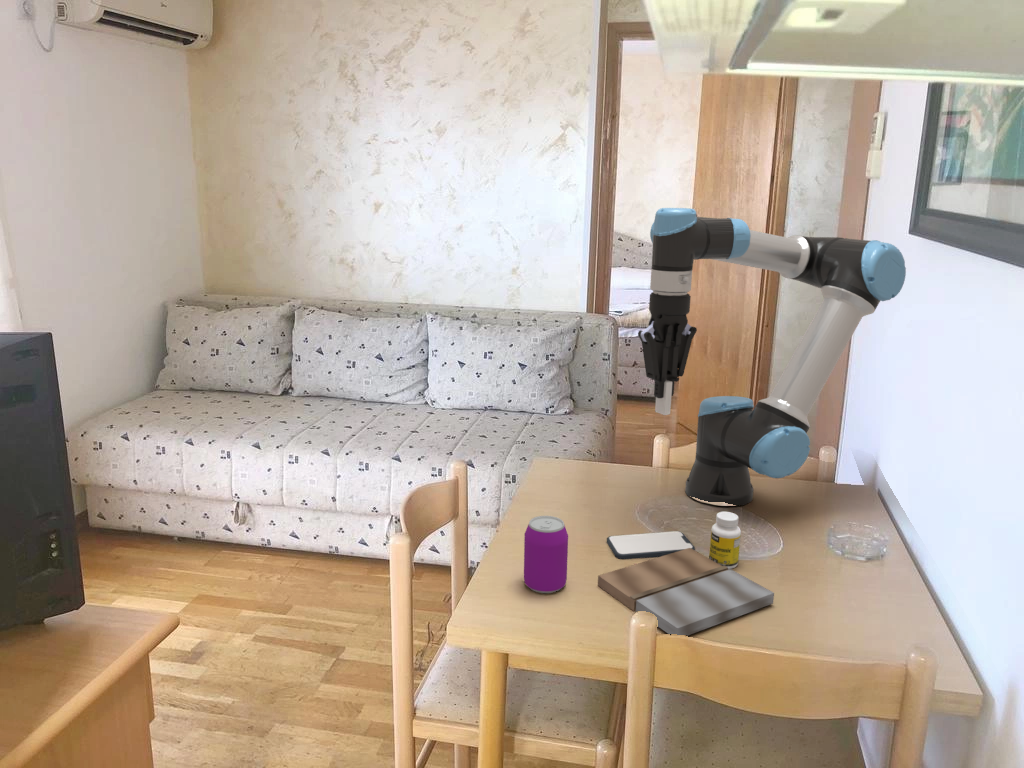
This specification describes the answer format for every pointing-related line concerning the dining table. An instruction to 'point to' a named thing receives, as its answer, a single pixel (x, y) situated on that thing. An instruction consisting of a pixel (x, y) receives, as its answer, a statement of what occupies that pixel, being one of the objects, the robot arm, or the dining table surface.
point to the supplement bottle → (725, 540)
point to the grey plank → (705, 602)
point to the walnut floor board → (657, 575)
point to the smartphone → (648, 544)
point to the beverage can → (545, 554)
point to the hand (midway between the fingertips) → (662, 412)
